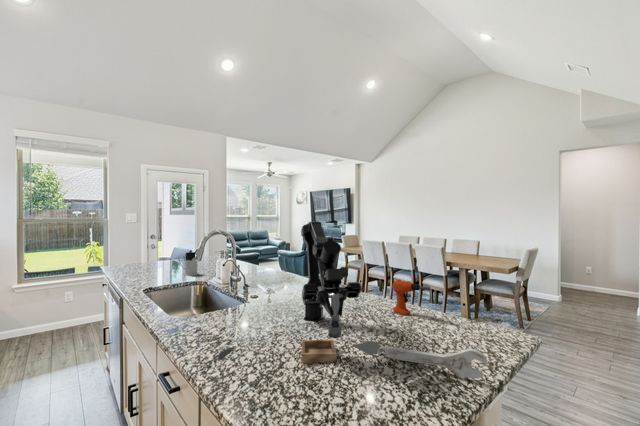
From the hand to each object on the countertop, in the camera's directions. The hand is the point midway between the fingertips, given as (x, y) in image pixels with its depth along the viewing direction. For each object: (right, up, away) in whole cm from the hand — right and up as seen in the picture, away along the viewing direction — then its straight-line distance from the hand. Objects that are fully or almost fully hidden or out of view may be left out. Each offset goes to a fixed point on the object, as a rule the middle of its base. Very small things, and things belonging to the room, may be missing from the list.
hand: (336, 315), depth 94 cm
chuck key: (0, -7, +1) cm, 7 cm away
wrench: (+25, -13, -7) cm, 29 cm away
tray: (-5, -12, +1) cm, 13 cm away
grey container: (-97, -12, +123) cm, 157 cm away
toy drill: (+34, -13, +39) cm, 54 cm away
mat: (+11, -13, +6) cm, 18 cm away
